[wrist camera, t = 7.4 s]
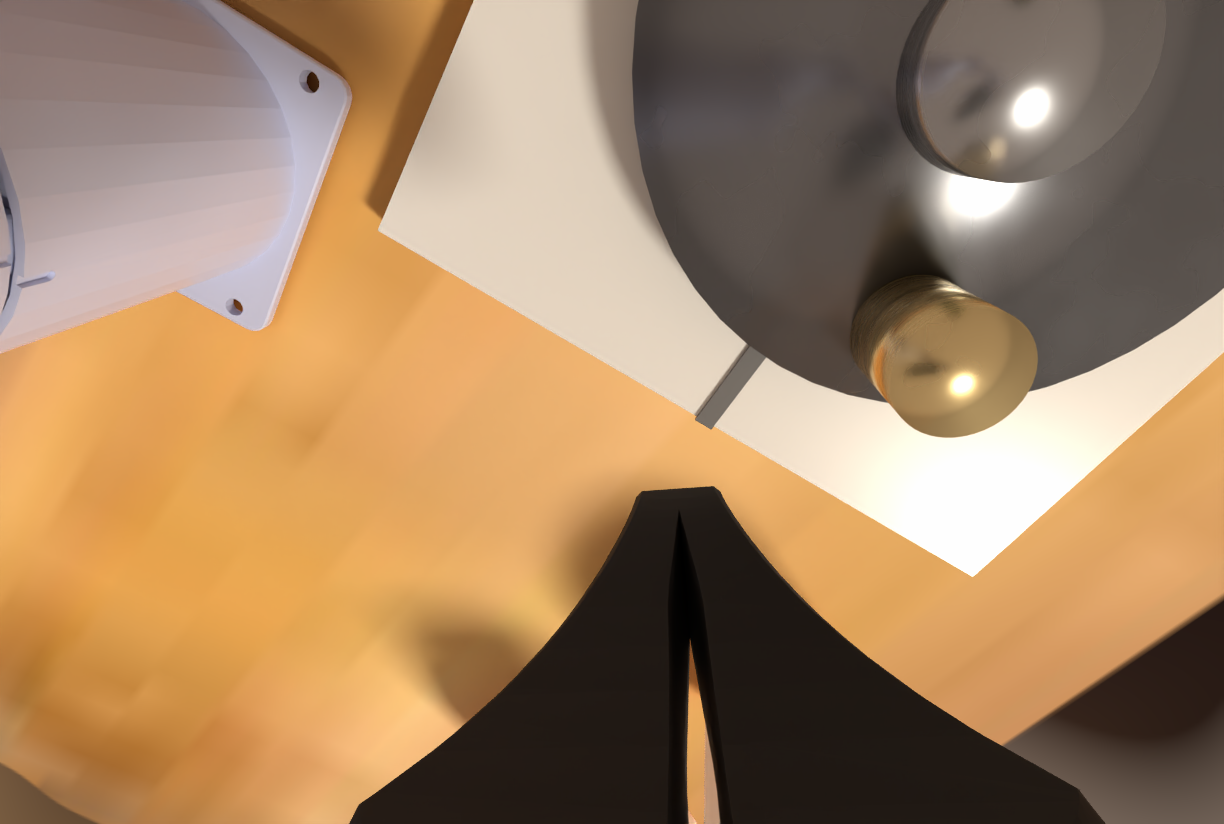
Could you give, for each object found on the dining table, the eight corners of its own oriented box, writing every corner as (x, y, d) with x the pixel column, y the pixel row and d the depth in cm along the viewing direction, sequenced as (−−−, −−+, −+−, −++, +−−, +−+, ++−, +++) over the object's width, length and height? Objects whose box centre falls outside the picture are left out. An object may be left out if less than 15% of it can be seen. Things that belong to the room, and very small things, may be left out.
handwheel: (1144, 424, 18) (1276, 504, 14) (596, 347, 18) (582, 407, 14) (1583, -367, 11) (2066, -620, 7) (701, -496, 11) (727, -818, 7)
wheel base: (384, 227, 18) (367, 234, 17) (919, -1045, 10) (954, -1197, 8) (960, 563, 22) (976, 586, 21) (1712, -126, 13) (1805, -147, 12)
